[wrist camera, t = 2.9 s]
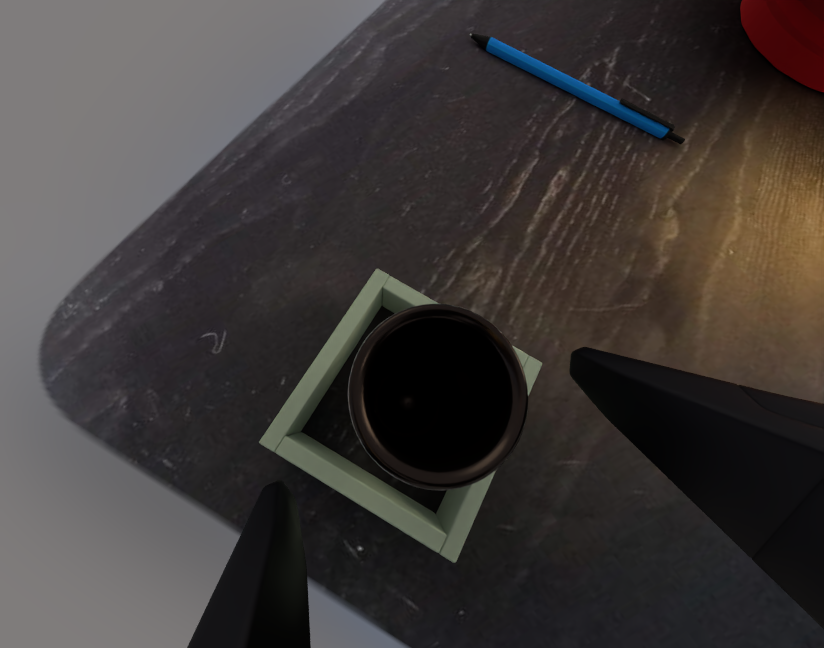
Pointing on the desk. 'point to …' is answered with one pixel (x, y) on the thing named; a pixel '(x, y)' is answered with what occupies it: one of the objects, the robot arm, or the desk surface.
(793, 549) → the robot arm
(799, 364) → the desk surface
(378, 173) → the desk surface
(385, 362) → the grey cylindrical cup
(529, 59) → the pen
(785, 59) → the bowl
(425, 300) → the square frame
